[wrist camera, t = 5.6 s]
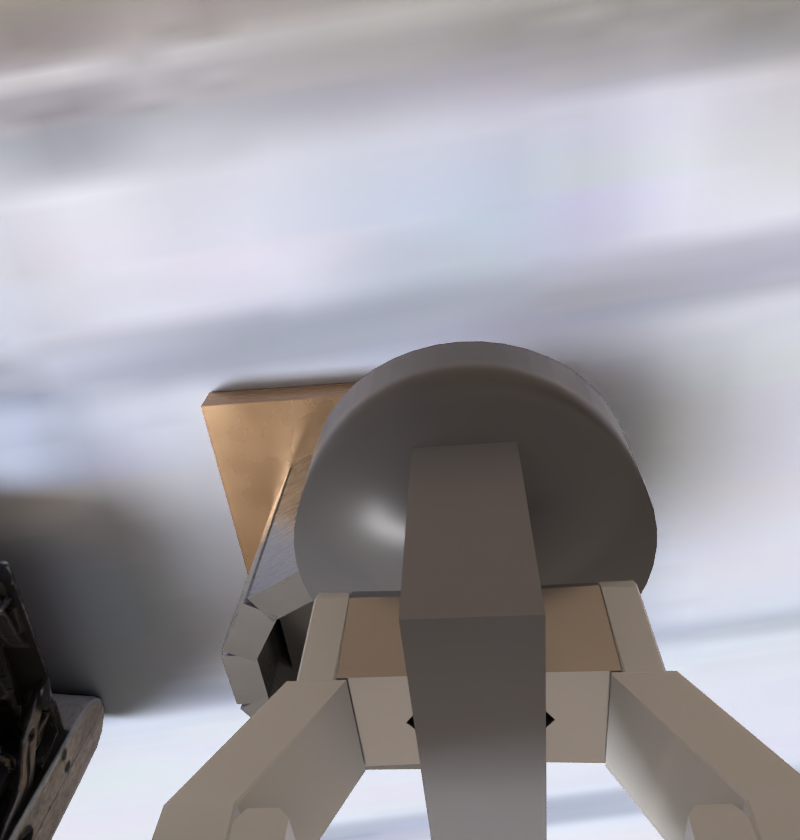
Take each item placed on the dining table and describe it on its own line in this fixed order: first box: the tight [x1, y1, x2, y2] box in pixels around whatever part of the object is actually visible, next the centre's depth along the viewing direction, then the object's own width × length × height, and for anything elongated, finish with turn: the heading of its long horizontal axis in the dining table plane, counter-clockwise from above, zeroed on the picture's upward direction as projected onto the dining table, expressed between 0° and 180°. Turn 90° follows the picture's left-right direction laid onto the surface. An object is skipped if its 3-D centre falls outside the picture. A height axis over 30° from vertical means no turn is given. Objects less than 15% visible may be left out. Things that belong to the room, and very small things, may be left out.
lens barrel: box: [201, 383, 421, 770], centre depth 29 cm, size 14×14×9 cm
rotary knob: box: [294, 342, 657, 840], centre depth 11 cm, size 6×6×6 cm
